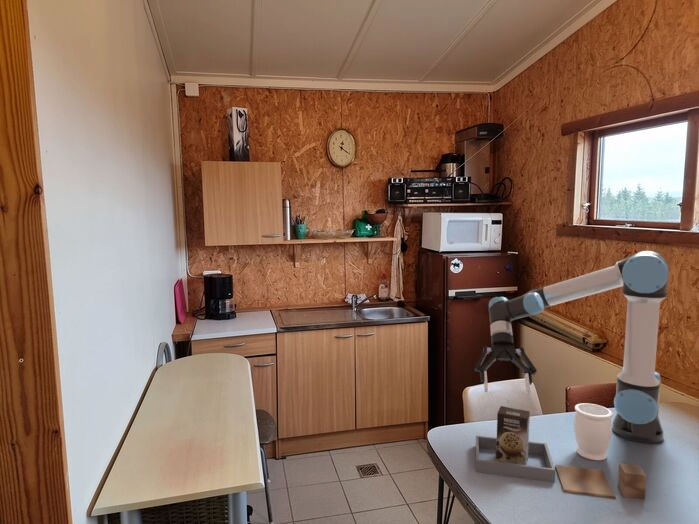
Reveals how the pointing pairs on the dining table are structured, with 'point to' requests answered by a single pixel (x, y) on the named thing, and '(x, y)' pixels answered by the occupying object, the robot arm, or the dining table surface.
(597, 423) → the jar
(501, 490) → the dining table surface
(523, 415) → the cookie box
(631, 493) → the walnut block
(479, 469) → the frame
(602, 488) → the cork mat
